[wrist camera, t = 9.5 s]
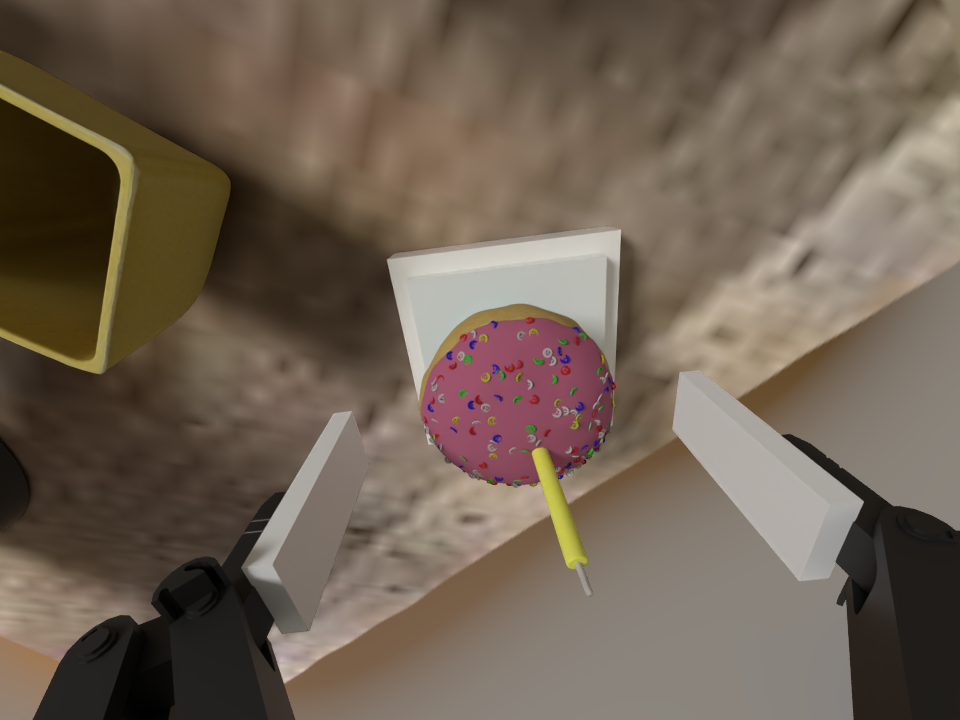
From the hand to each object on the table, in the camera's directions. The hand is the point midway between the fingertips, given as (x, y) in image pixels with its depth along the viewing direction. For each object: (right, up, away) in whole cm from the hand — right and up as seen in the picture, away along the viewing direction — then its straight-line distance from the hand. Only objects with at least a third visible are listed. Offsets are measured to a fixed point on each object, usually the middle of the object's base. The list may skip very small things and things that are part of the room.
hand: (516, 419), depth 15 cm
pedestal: (0, +4, +8) cm, 9 cm away
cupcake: (0, +3, +6) cm, 6 cm away
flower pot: (-18, +11, +5) cm, 21 cm away
